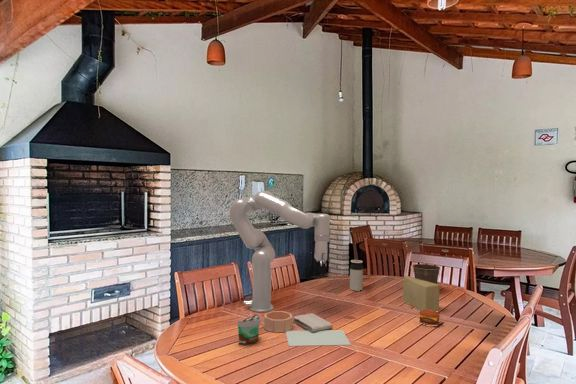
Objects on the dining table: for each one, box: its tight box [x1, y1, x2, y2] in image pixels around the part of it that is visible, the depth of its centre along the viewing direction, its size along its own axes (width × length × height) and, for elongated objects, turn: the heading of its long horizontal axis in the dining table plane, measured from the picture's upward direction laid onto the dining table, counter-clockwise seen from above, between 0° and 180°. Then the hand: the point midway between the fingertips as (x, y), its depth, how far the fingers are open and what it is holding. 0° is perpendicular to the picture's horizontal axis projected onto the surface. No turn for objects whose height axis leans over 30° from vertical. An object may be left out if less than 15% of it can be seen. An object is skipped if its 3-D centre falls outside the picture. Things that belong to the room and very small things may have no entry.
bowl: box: [263, 310, 293, 334], centre depth 184 cm, size 13×13×6 cm
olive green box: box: [402, 275, 440, 312], centre depth 218 cm, size 22×10×15 cm, turn 25°
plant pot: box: [412, 263, 441, 284], centre depth 247 cm, size 16×16×16 cm
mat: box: [285, 329, 352, 347], centre depth 173 cm, size 26×16×1 cm, turn 95°
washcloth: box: [292, 312, 333, 332], centre depth 188 cm, size 12×18×3 cm, turn 31°
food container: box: [236, 313, 262, 346], centre depth 167 cm, size 12×6×10 cm, turn 148°
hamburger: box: [417, 309, 441, 325], centre depth 193 cm, size 9×10×7 cm
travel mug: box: [349, 259, 364, 292], centre depth 250 cm, size 8×8×18 cm
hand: (320, 271), depth 203 cm, fingers open, 9 cm apart
